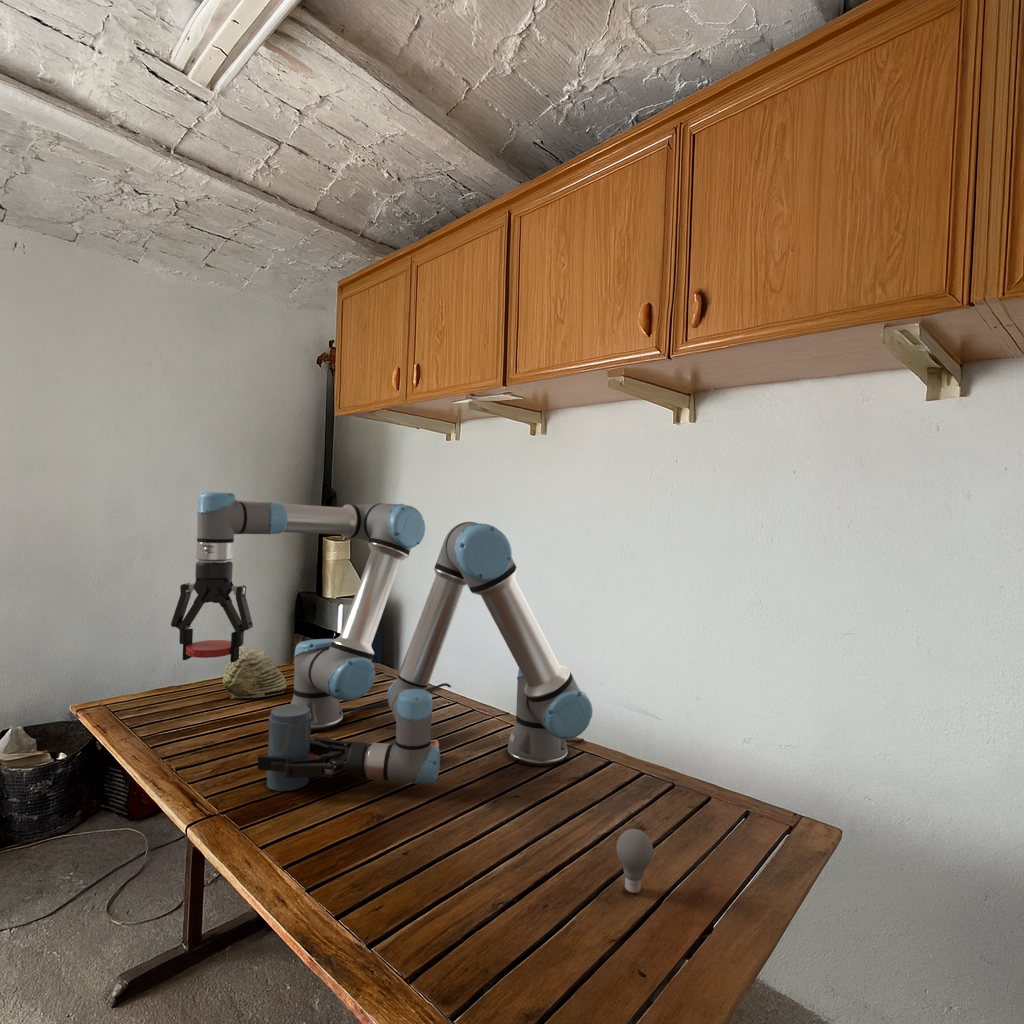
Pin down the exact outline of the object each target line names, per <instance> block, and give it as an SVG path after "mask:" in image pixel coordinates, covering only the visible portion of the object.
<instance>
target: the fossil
mask: <svg viewBox="0 0 1024 1024" xmlns="http://www.w3.org/2000/svg"><path fill="white" fill-rule="evenodd" d="M230 658H231V656H230V657H229V659H228V660H227V663H226V666H225V668H224V671H223V675H222V676H223V677H222V685H223V687H224V688H225V690H226V691H228V693H229V698H230V699H250V698H264V697H271V696H275V695H281V694H284V693H285V691H286V689H287V687H288V686H287V680H286V678H285V676H284V674H283V673H282V672H281V669H279V668H278V667H277V665H276V663H275V662H274V660H273V659H272V658H271V657H270V656H269V655H268V654H267V653H266V652H265V650H264V649H263V648H260V647H258V648H251V647H247V646H246V647H245V646H240V647H239V659H238V660H237V661H235V662H230Z"/></svg>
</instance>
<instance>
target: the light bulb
mask: <svg viewBox="0 0 1024 1024" xmlns="http://www.w3.org/2000/svg"><path fill="white" fill-rule="evenodd" d="M615 849H616V854H617V857H618V859H619V861H620V863H621V865H622V867H623V873H624V874H623V875H624V876H625V878H624V888H625V890H627V891H628V892H630V893H634V894H635V893H639V892H640V891H641V889H642V887H641V886H642V879H643V877H644V875H645V871H646V868H647V867H648V866H649V864H650V863H651V861H652V859H653V855H654V847H653V843H652V841H651V838H649V836H648V835H647V834H646V833H645V832H643V831H642V830H641V829H636V828H629V829H627V830H625V831H623V832H622V833H621V834H620V835H619V837H618V839H617V841H616V847H615Z"/></svg>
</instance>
